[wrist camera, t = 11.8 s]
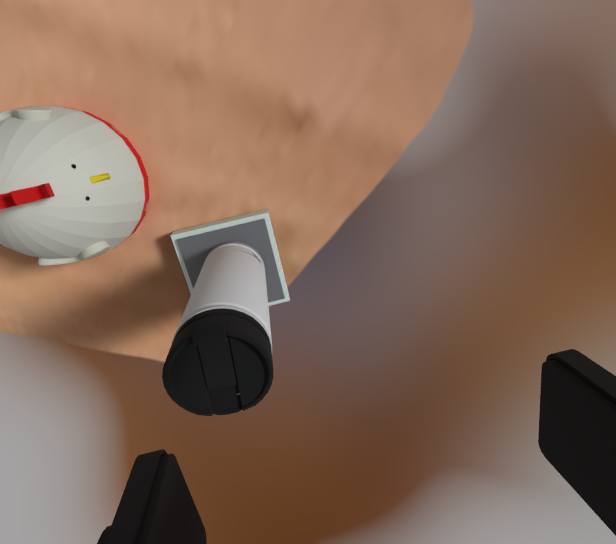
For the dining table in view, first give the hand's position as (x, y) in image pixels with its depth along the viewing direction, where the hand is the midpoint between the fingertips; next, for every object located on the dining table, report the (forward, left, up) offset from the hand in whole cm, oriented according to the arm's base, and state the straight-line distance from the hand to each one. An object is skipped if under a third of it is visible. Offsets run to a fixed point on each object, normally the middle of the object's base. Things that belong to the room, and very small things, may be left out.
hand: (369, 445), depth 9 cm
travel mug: (+4, -6, -31) cm, 32 cm away
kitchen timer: (-7, -19, -34) cm, 40 cm away
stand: (+4, -6, -34) cm, 34 cm away
